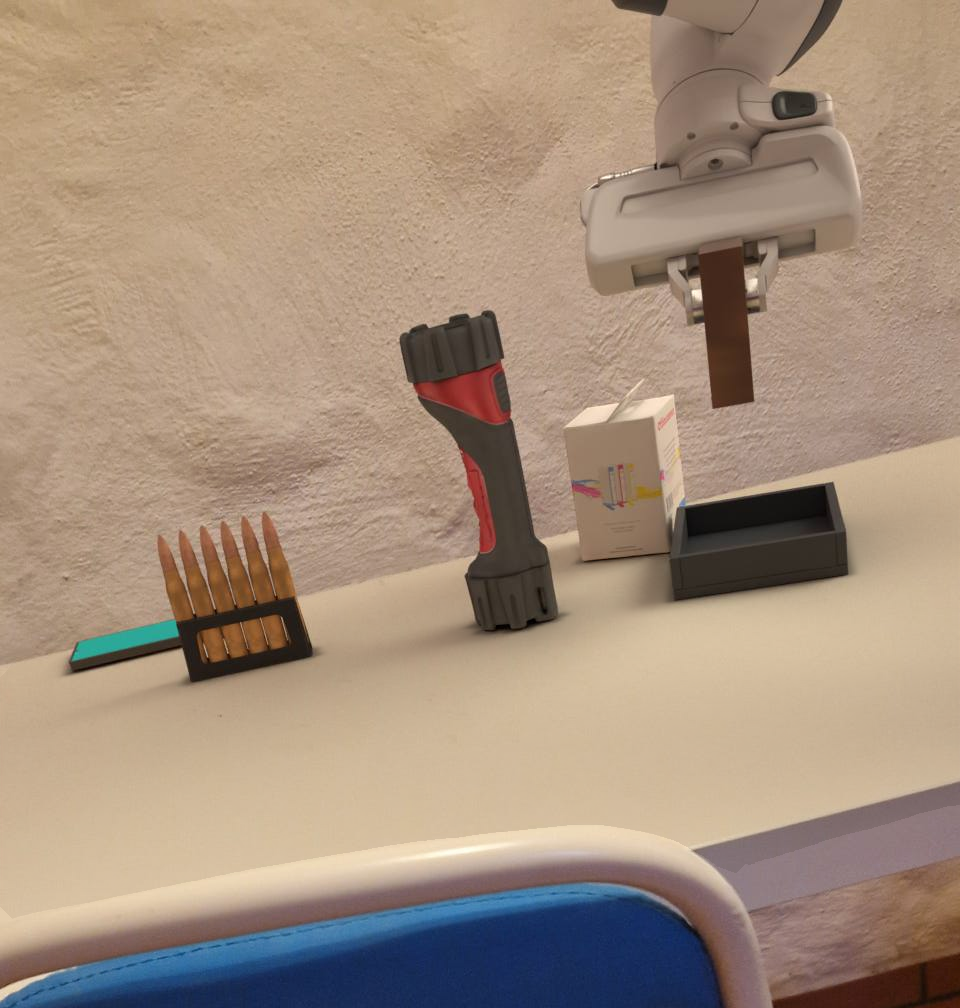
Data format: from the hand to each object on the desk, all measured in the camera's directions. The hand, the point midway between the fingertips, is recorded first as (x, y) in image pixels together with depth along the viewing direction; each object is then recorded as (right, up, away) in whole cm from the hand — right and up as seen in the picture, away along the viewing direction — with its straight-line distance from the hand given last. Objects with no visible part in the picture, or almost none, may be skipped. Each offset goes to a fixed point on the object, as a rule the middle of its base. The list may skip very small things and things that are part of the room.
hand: (726, 313), depth 102 cm
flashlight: (-16, -19, +14) cm, 28 cm away
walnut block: (+1, -5, +2) cm, 6 cm away
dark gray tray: (+5, -13, +15) cm, 20 cm away
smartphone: (-49, -16, +30) cm, 60 cm away
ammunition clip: (-38, -21, +18) cm, 47 cm away
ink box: (-4, -8, +27) cm, 28 cm away
